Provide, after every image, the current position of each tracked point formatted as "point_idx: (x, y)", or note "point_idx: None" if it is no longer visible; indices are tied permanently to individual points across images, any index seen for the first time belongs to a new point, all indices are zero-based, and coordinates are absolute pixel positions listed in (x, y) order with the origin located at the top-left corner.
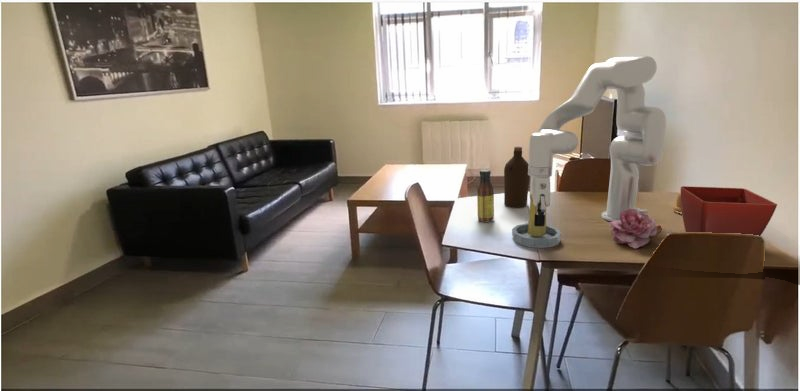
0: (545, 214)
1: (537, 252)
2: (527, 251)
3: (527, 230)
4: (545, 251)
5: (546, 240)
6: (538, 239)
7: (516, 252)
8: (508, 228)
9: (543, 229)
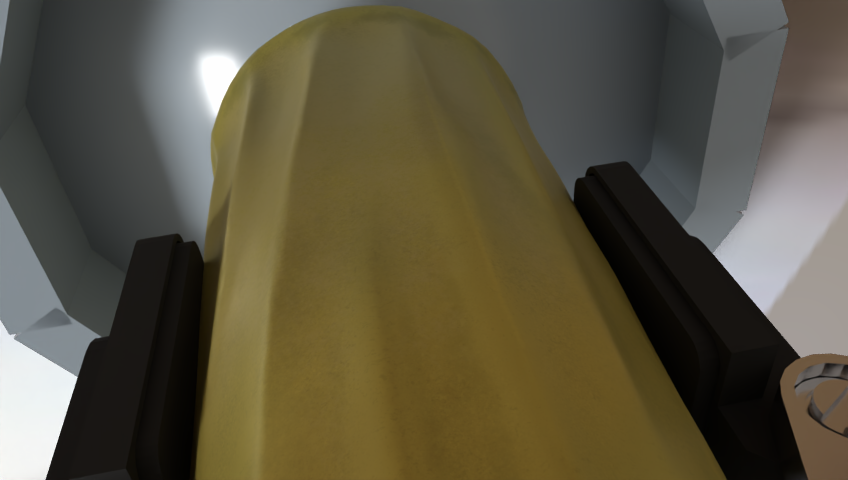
0: (583, 298)
1: (813, 117)
2: (760, 217)
3: (93, 241)
4: (808, 17)
5: (774, 41)
6: (753, 165)
7: (762, 308)
8: (17, 422)
9: (509, 112)
